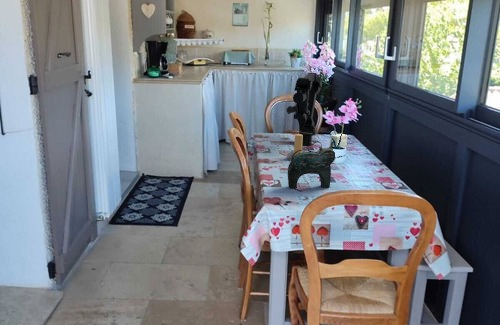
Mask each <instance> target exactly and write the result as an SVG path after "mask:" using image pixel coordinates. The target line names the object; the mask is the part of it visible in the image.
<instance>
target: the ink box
mask: <svg viewBox="0 0 500 325" xmlns="http://www.w3.org/2000/svg"><path fill="white" fill-rule="evenodd" d="M335 134H336V135H335ZM335 134H331V135H330V140H329V141H330V142H329V146H330V145H331V146H332V147H333V146H334V143H333V140H332V138H334V139H335V141H336V146H337V145H338V143H339V140H340V136H341V134H342V136H341V142H340V146H341V147H343V148H345V149H346V150H347V144H348V137H349V136H348V135H347V134H344V133H335Z"/></svg>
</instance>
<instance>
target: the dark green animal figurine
mask: <svg viewBox="0 0 500 325" xmlns="http://www.w3.org/2000/svg"><path fill="white" fill-rule="evenodd" d="M312 143H313V145H312V146H314V145H315V144H317V143H319V144H320V146H319V147H318V148H319V150H318V151H313V150H310V149H304V148H302V150H298V151H303V150H307V152H302V153H299V154H297V155H295V154H296V153H297V152H298V151H296V152H295V153H294V154H293V156H294V155H295V156H294V157H293V156H292V160H291V161H290V162H289V164H288V167H287V182H288V183H287V184H288V185H287V186H288V188H289V189H290V190H291V189H292V190H294V189H296V190H297V189H298V182H299V179H300V178H301V177H302V176H304V175H306V174H307V175H308V174H313V175H318V176H319V179H320V180H319V181H320V188H322V189H326V188H328V189H329V188H330V187H331V176H332V169H331V168H332V167H331V165H332V164H333V163H334V162H335V160H336V158H335V152H334V151H333V148H332V146H331V145H330V144H329V147H323V145H322V143H321V142H320V141H319V140H316V141H314V142H312Z"/></svg>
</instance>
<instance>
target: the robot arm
mask: <svg viewBox="0 0 500 325" xmlns="http://www.w3.org/2000/svg"><path fill="white" fill-rule="evenodd" d="M294 85H295V86H294V91H295V93H294V94H293V95H292V101H293V102H294V104H295V105H289V106H287V107H286V112H287V115H289V114H291V113H292V114H293V120H297V121H298V126H299V127H298V135H303V140H302V146H306V147H310V146H314V145H313V143H314V142H312V141H313V137H314V136H316V133H317V132H316V127H315V121H314V120H313V117H314V111H315V107H316V99H317V95H318V94H320V92H321V89H322V87H323V81H322V78H321V77H320V76H319V75H318V73H316V72H307V74H306V75H305V76H303V77H302V76H299V77H298V78H297V79H296V82H295V84H294Z"/></svg>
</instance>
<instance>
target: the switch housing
mask: <svg viewBox="0 0 500 325" xmlns="http://www.w3.org/2000/svg"><path fill="white" fill-rule="evenodd" d="M303 149H307V147H306V148H303ZM307 150H308V149H307ZM307 150H302V152H308V151H307ZM293 154H294V149H293V150H291V151H290V152H289V154H288V155H287V157H286V161H290V162H291V160H292V156H293ZM294 156H295V155H294ZM294 156H293V157H294Z"/></svg>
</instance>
